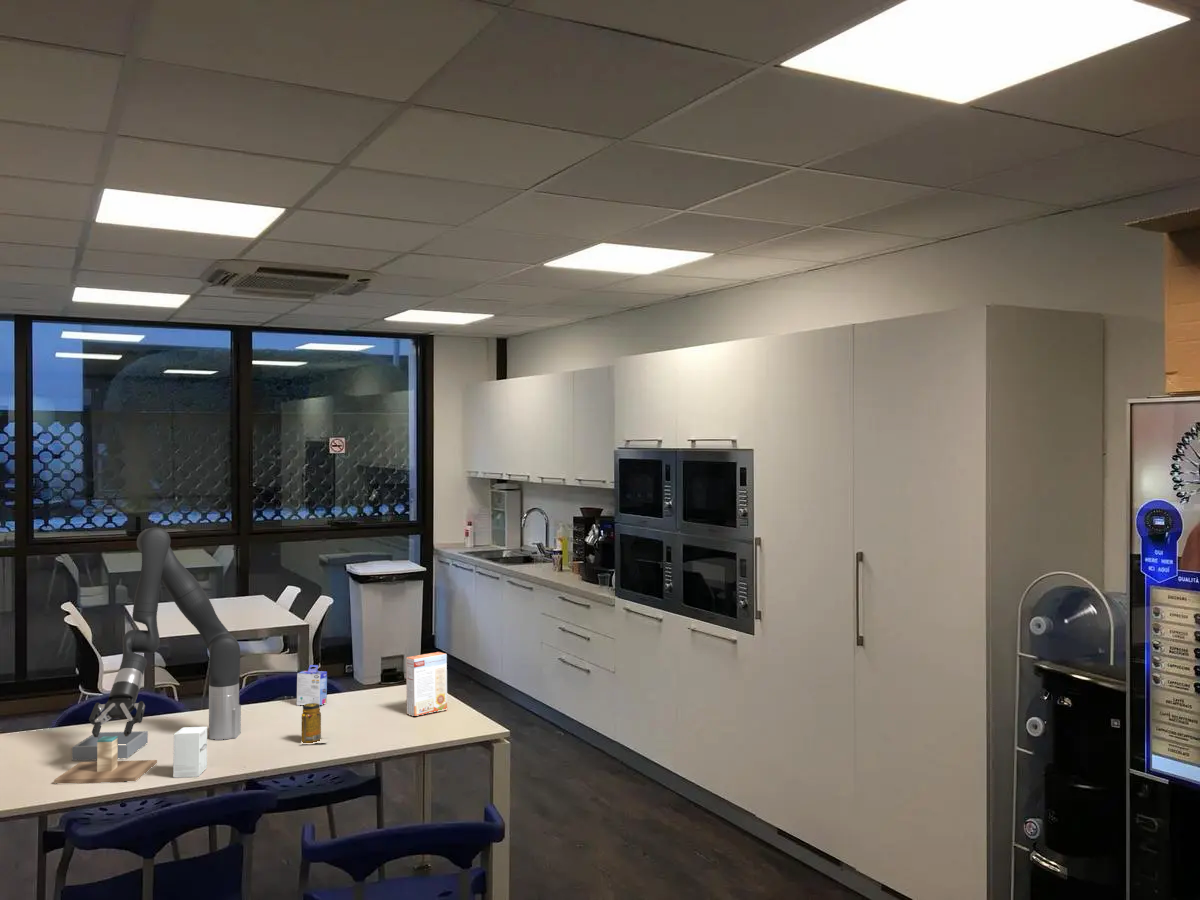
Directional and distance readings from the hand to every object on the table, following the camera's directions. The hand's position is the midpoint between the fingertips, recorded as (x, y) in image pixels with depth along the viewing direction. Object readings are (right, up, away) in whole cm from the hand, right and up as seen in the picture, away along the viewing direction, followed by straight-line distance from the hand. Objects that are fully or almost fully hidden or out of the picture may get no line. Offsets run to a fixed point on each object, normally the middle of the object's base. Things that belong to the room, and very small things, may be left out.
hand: (110, 735), depth 273 cm
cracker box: (+80, -12, +66) cm, 105 cm away
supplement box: (+24, -11, -1) cm, 26 cm away
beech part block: (0, -9, -1) cm, 10 cm away
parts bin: (-10, -11, +20) cm, 25 cm away
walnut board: (0, -11, -1) cm, 11 cm away
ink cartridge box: (+35, -12, +78) cm, 87 cm away
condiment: (+50, -11, +30) cm, 60 cm away
